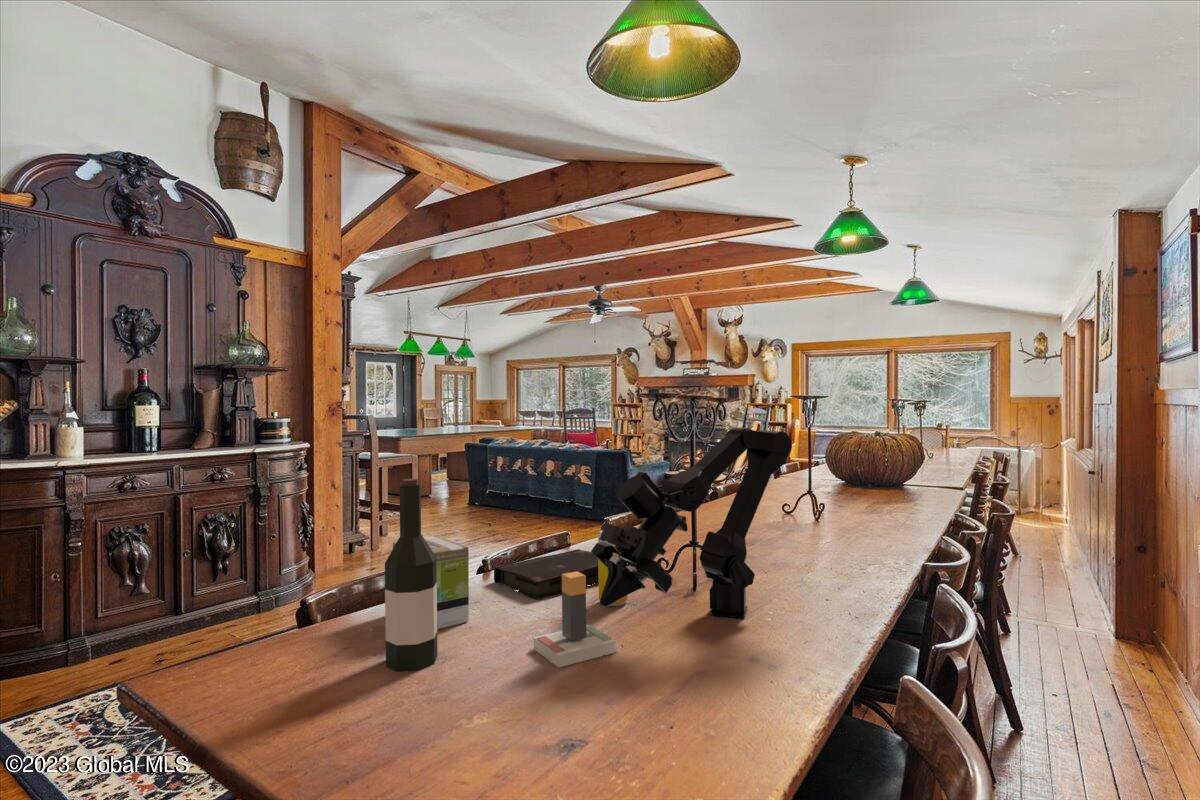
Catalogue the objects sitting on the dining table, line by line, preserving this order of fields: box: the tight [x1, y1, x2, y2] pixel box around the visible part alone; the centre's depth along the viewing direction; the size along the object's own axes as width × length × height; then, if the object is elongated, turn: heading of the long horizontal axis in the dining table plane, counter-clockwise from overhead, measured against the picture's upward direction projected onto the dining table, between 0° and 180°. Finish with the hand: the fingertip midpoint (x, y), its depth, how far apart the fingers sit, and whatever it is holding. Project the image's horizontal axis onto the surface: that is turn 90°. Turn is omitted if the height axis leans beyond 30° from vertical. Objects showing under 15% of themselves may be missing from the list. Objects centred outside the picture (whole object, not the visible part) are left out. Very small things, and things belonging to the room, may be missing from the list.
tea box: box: [392, 535, 470, 630], centre depth 127 cm, size 15×10×15 cm, turn 39°
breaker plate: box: [533, 624, 617, 668], centre depth 109 cm, size 11×9×2 cm
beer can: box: [597, 529, 629, 607], centre depth 135 cm, size 6×6×15 cm
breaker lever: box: [561, 572, 587, 641], centre depth 109 cm, size 3×3×10 cm
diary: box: [493, 548, 599, 600], centre depth 151 cm, size 19×25×5 cm
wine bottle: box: [384, 478, 438, 672], centre depth 106 cm, size 8×8×30 cm
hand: (602, 604), depth 112 cm, fingers closed
